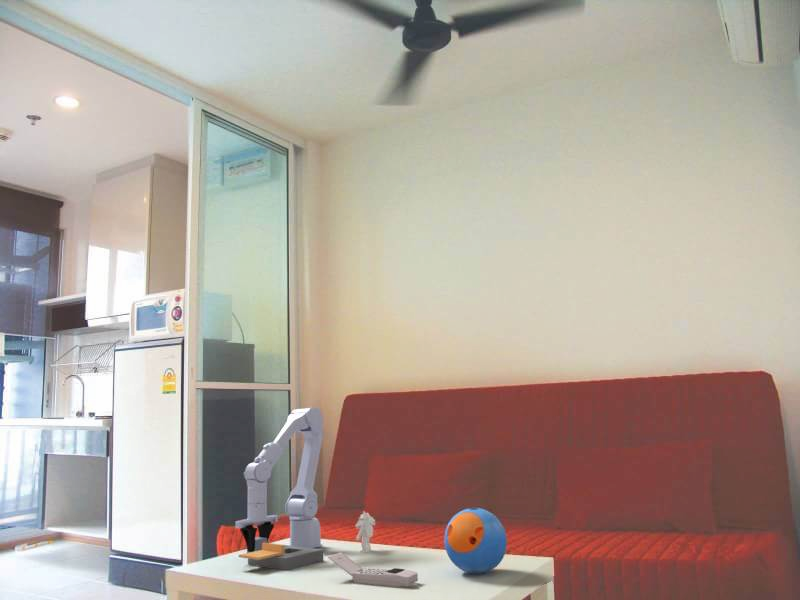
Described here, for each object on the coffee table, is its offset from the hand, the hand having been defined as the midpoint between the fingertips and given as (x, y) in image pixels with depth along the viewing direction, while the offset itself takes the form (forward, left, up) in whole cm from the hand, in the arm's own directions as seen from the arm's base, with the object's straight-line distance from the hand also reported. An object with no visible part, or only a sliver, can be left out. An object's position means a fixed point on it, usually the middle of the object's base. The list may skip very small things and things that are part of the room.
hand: (257, 550), depth 191 cm
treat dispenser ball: (-13, +69, -2) cm, 70 cm away
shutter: (+10, +14, +1) cm, 17 cm away
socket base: (+1, +14, -2) cm, 14 cm away
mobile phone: (+7, +52, -2) cm, 53 cm away
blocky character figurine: (-23, +23, -2) cm, 33 cm away
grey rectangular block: (0, 0, -2) cm, 2 cm away
